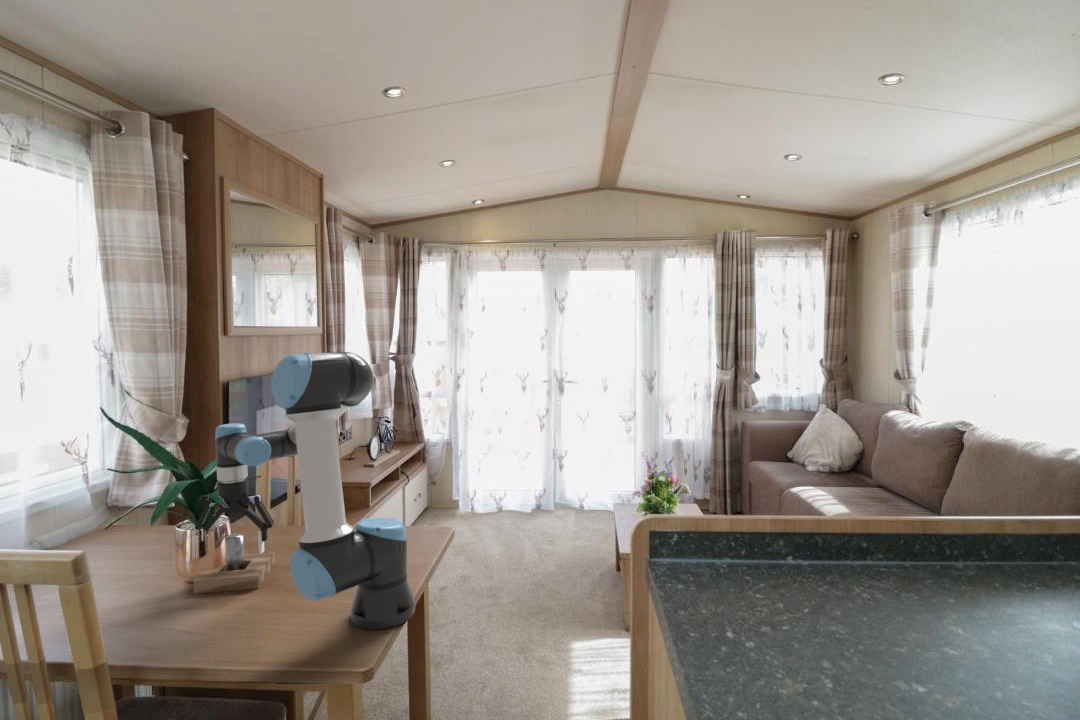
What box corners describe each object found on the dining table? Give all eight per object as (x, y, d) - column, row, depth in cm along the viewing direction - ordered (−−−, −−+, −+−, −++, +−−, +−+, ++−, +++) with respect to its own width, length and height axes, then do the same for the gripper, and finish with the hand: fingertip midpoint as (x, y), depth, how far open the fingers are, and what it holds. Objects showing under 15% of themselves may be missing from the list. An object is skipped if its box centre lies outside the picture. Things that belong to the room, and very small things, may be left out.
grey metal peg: (242, 580, 157) (240, 538, 156) (225, 582, 156) (223, 539, 155) (247, 574, 161) (245, 532, 160) (230, 575, 160) (228, 533, 159)
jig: (258, 588, 152) (258, 575, 152) (193, 593, 149) (193, 580, 149) (274, 563, 168) (274, 552, 168) (215, 568, 165) (215, 556, 164)
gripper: (284, 473, 163) (286, 545, 164) (188, 478, 158) (192, 553, 159) (277, 480, 156) (279, 556, 157) (177, 486, 151) (180, 563, 152)
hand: (235, 554), depth 158 cm, fingers open, 13 cm apart
